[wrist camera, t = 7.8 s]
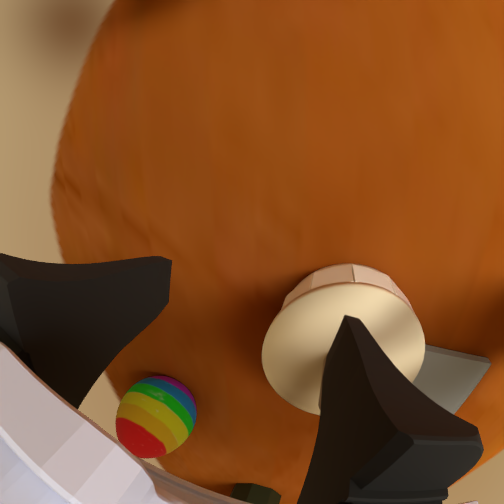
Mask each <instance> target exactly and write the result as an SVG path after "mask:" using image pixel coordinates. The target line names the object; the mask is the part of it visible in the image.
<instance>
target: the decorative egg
mask: <svg viewBox="0 0 504 504" xmlns="http://www.w3.org/2000/svg"><path fill="white" fill-rule="evenodd" d="M196 415H197V409H196V403H195V400H194V397H193V395H192V394H191V392H190V391H189V390H188V389H187V387H185V386H184V385H183V384H182V383H180V382H179V381H177V380H175V379H173V378H171V377H168V376H152V377H148V378H145V379H143V380H140V381H139V382H137V383H136V384H134V385H133V386H132V387H131V388H130V389H129V390H128V391H127V392H126V394H125V395H124V397H123V398H122V400H121V402H120V405H119V407H118V410H117V415H116V432H117V437H118V440H119V442H120V443H121V444H122V445H123V446H124V447H125V448H126V449H127V450H128V451H130V452H131V453H132V454H133V455H135V456H137V457H139V458H155V457H160V456H163V455H165V454H168V453H170V452H172V451H173V450H175V449H176V448H178V447H179V446H180V445H181V444H182V443H183V442H184V441H185V440H186V439H187V438H188V436H189V435H190V433H191V432H192V430H193V428H194V425H195V422H196Z"/></svg>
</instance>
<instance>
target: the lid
mask: <svg viewBox="0 0 504 504" xmlns="http://www.w3.org/2000/svg"><path fill="white" fill-rule="evenodd" d="M344 315H348V316H352V317H355V318H359V319H360V320H361V321H362V322H363V324H364V325H365V326H366V328H367V329H368V331H369V332H370V333H371V335H372V336H373V338H374V339H375V340H376V342H377V343H378V345H379V346H380V347H381V349H382V350H383V351H384V353H385V354H386V355H387V356H388V358H389V359H390V360H391V361H392V363H393V364H394V365H395V366H396V367H397V368H398V369H399V371H400V372H401V373H402V374H403V375H404V376H405V377H406V378H407V379H408V380H409V381H410V382H411V383H412V382H413V381H414V379H415V378H416V376H417V374H418V372H419V370H420V368H421V365H422V362H423V359H424V354H425V339H424V333H423V330H422V327H421V325H420V322H419V320H418V318H417V316H416V315H415V313H414V311H413V310H412V309H411V307H410V306H409V305H408V304H407V303H406V302H405V301H404V300H403V299H402V298H401V297H399V296H398V295H396V294H395V293H393V292H392V291H389V290H387V289H385V288H383V287H380V286H377V285H373V284H369V283H363V282H337V283H331V284H327V285H323V286H320V287H317V288H314V289H311V290H309V291H307V292H305V293H303V294H301V295H299V296H298V297H296V298H295V299H293V300H292V301H290V302H289V303H288V304H287V305H286V306H284V308H283V309H282V310H281V311H280V312H279V313H278V314H277V316H276V317H275V318H274V320H273V321H272V323H271V325H270V327H269V329H268V332H267V334H266V336H265V339H264V343H263V347H262V364H263V369H264V372H265V375H266V377H267V379H268V381H269V383H270V385H271V386H272V387H273V389H274V390H275V391H276V392H277V393H278V394H279V395H280V396H281V397H282V398H283V399H285V400H286V401H287V402H289V403H290V404H292V405H293V406H295V407H297V408H299V409H301V410H304V411H306V412H309V413H313V414H317V415H320V410H321V396H322V381H323V373H324V367H325V362H326V357H327V354H328V352H329V350H330V347H331V345H332V343H333V341H334V338H335V336H336V334H337V332H338V329H339V327H340V325H341V322H342V320H343V317H344Z"/></svg>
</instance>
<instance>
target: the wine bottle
mask: <svg viewBox="0 0 504 504" xmlns="http://www.w3.org/2000/svg"><path fill="white" fill-rule="evenodd" d="M230 497H231V498H234V499H237V500H240V501H244V502H247V503H251V504H279V502H280V498H281V495H279V494H278V493H277V492H276V491H274V490H273V489H271V488H267V487H263V486H260V485H256V484H236V485H235V487H234V488H233V491H232V493H231V495H230Z"/></svg>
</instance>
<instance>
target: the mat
mask: <svg viewBox="0 0 504 504" xmlns="http://www.w3.org/2000/svg"><path fill="white" fill-rule="evenodd" d="M490 365H491V362H490V360H489V359H488V358H486V357H481V356H476V355H472V354H467V353H462V352H457V351H453V350H448V349H444V348H439V347H435V346H431V345H427V344H425V354H424V359H423V362H422V365H421V368H420V370H419V372H418V374H417V376H416V378H415V379H414V381H413V382H412V384H413V385H414V386H416V387H417V388H418V389H419V390H420V391H421V392H423V393H424V394H425V395H426V396H427V397H429V398H430V399H431V400H433V401H434V402H435V403H437V404H438V405H440V406H441V407H443V408H444V409H446V410H447V411H449V412H450V413H452V414H453V415H454V413H455V412H456V411H457V410H458V409H459V407H460V406H461V405H462V404H463V402H464V401H465V400H466V399H467V397H468V396H469V395H470V394H471V392H472V391H473V390H474V388H475V387H476V386H477V384H478V383H479V381H480V380H481V379H482V377H483V376H484V374H485V373H486V371H487V370H488V368H489V367H490Z"/></svg>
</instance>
